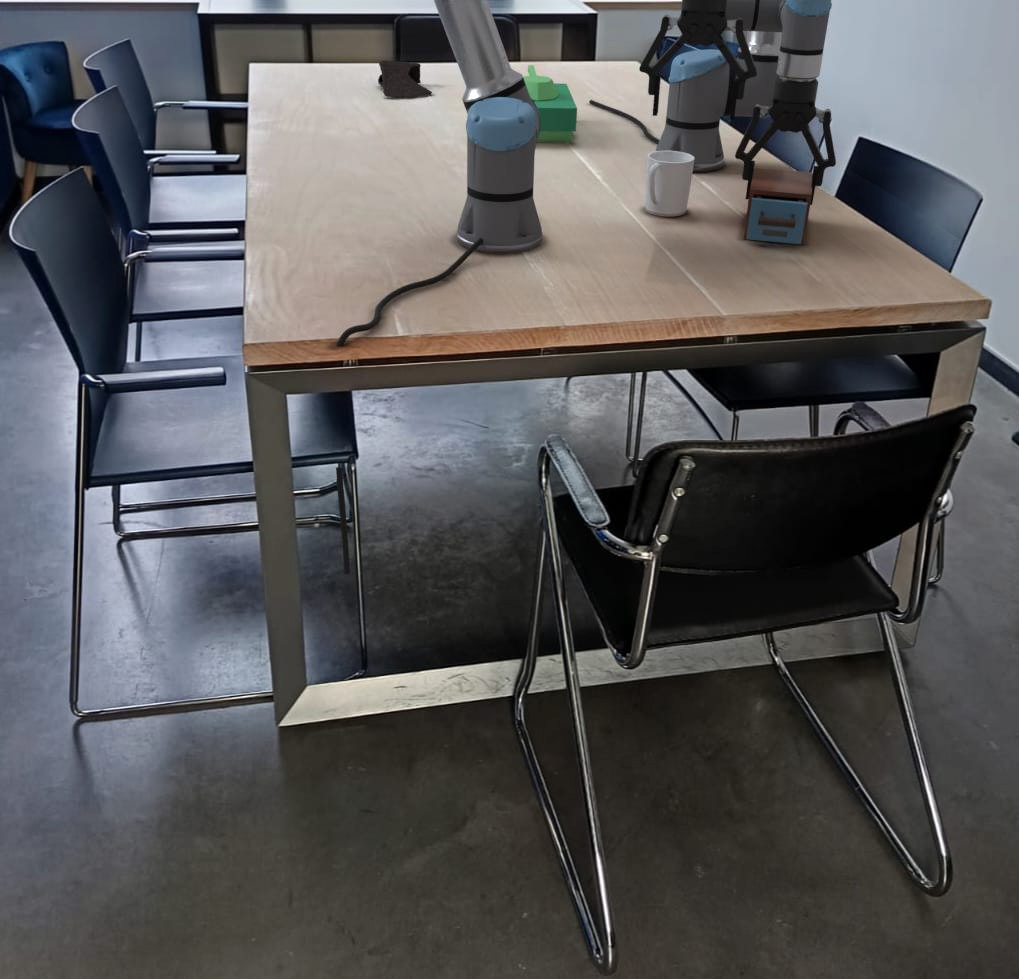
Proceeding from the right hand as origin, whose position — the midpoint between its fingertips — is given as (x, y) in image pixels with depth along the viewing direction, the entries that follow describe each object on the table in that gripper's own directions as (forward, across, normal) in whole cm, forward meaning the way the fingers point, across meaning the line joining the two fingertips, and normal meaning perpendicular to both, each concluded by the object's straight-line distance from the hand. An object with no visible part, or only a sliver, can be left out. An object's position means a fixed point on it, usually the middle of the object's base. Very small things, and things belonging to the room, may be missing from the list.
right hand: (778, 200), depth 206 cm
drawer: (+3, 0, +10) cm, 11 cm away
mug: (+4, +22, 0) cm, 22 cm away
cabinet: (+4, 0, +4) cm, 6 cm away
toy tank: (+4, +60, -58) cm, 84 cm away
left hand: (-16, +17, +7) cm, 24 cm away
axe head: (+4, +103, -87) cm, 135 cm away
